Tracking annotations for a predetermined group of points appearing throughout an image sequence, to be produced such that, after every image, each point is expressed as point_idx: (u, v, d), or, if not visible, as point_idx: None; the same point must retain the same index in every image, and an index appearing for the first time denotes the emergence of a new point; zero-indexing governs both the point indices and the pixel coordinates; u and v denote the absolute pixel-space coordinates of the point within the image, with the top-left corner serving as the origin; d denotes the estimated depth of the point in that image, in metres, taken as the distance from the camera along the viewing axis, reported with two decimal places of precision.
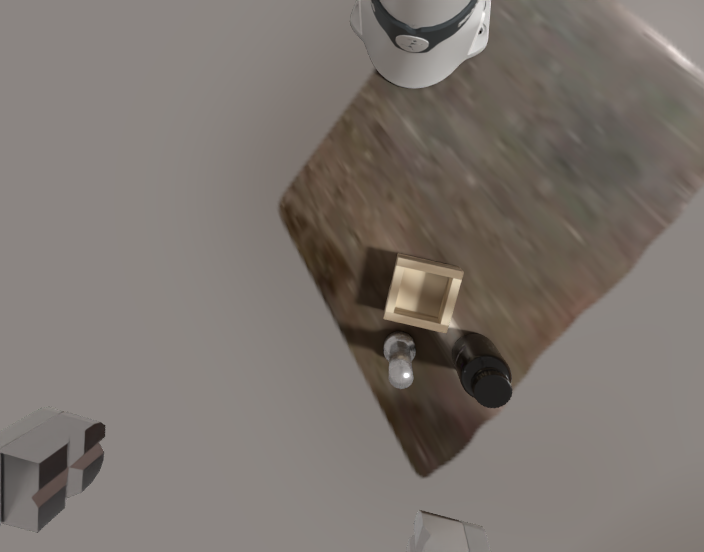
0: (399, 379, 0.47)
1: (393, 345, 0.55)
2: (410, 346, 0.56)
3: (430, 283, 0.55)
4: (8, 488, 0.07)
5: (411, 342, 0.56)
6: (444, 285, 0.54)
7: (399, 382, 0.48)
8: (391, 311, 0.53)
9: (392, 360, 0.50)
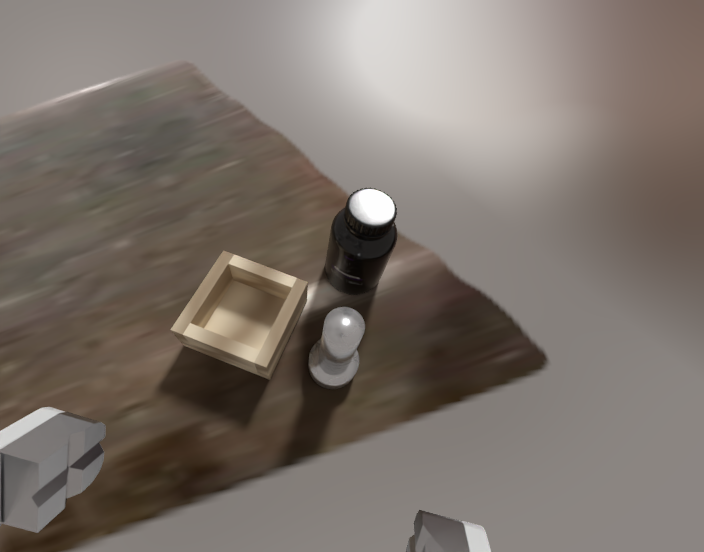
0: (348, 328, 0.28)
1: (320, 362, 0.34)
2: None
3: (241, 304, 0.38)
4: (8, 488, 0.07)
5: None
6: (248, 288, 0.39)
7: (353, 329, 0.28)
8: (256, 353, 0.32)
9: (325, 348, 0.30)
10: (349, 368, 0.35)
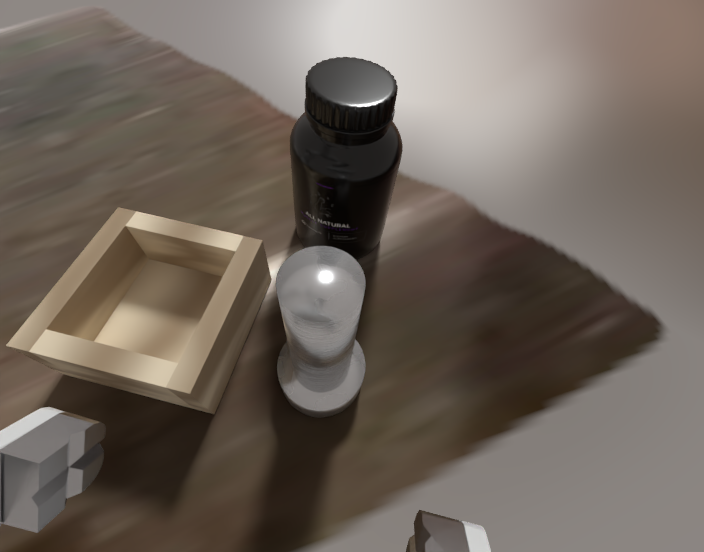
0: (330, 285, 0.13)
1: (295, 373, 0.19)
2: None
3: (161, 294, 0.23)
4: (8, 488, 0.07)
5: None
6: (174, 268, 0.24)
7: (341, 286, 0.13)
8: (171, 368, 0.17)
9: (292, 339, 0.14)
10: (349, 376, 0.20)
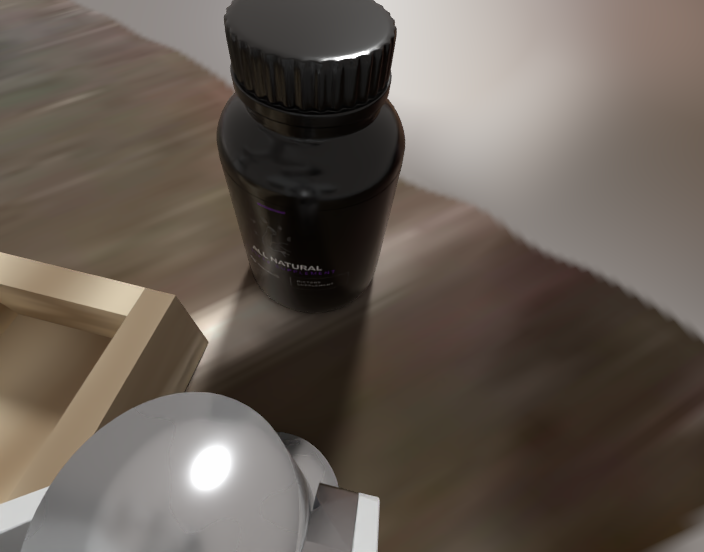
0: (190, 541, 0.04)
1: None
2: None
3: (25, 374, 0.15)
4: None
5: None
6: (54, 329, 0.16)
7: (223, 546, 0.04)
8: None
9: None
10: None
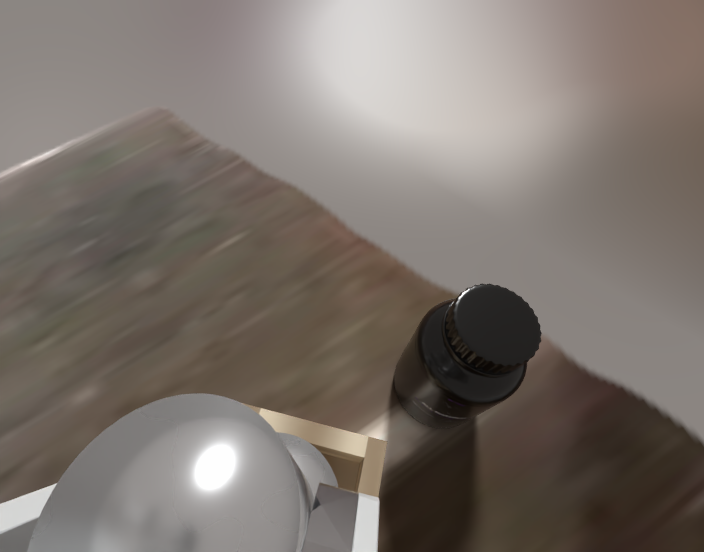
0: (194, 540, 0.04)
1: None
2: None
3: None
4: None
5: None
6: None
7: (226, 544, 0.04)
8: None
9: None
10: None
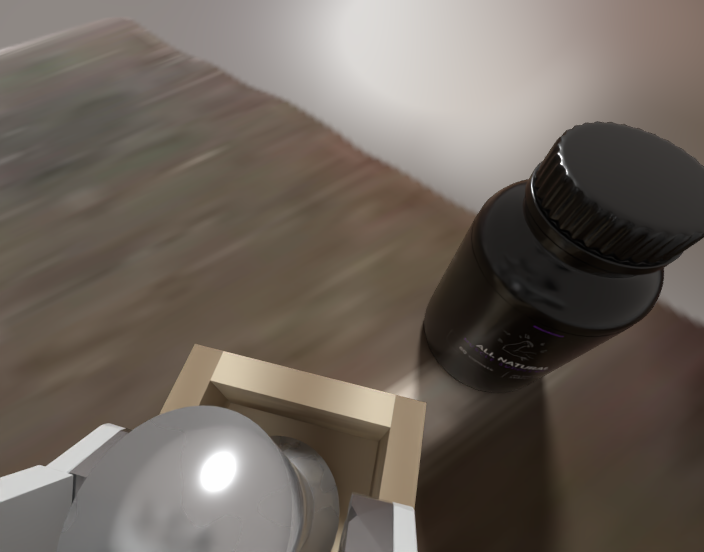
0: (201, 534, 0.05)
1: None
2: None
3: None
4: None
5: None
6: (269, 418, 0.16)
7: (227, 538, 0.05)
8: None
9: None
10: (313, 535, 0.12)
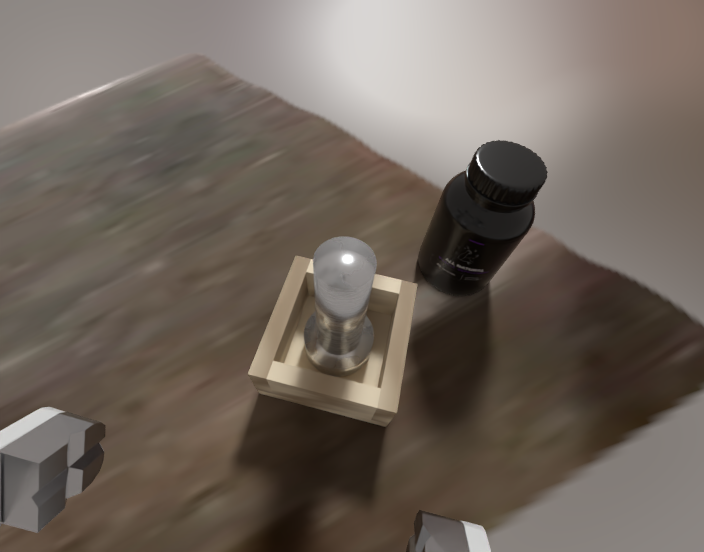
0: (351, 264, 0.18)
1: (319, 338, 0.24)
2: None
3: None
4: (8, 488, 0.07)
5: None
6: None
7: (359, 265, 0.18)
8: (377, 392, 0.22)
9: (321, 306, 0.20)
10: (361, 343, 0.25)
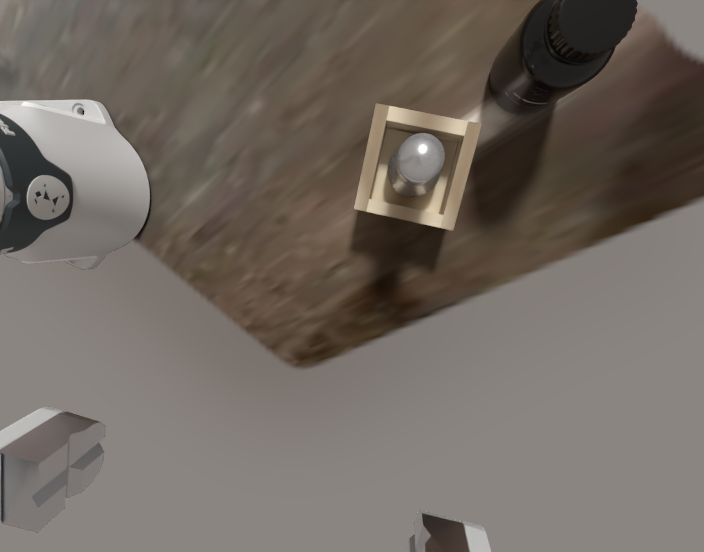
0: (426, 159, 0.25)
1: (399, 179, 0.33)
2: None
3: None
4: (8, 488, 0.07)
5: (399, 149, 0.34)
6: (405, 134, 0.35)
7: (431, 159, 0.25)
8: (440, 218, 0.33)
9: (403, 177, 0.28)
10: None
